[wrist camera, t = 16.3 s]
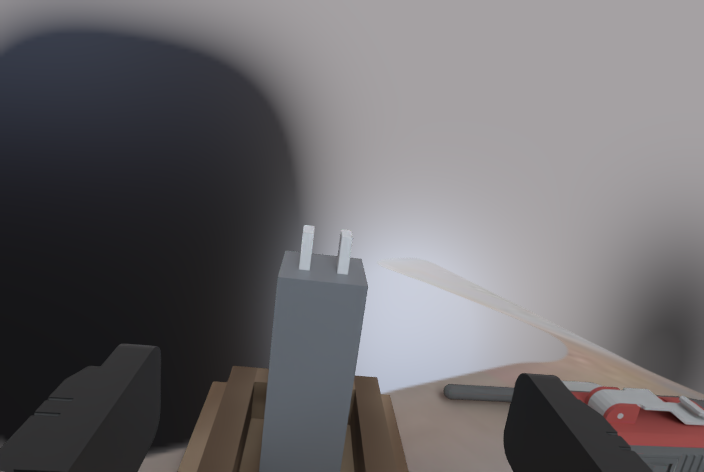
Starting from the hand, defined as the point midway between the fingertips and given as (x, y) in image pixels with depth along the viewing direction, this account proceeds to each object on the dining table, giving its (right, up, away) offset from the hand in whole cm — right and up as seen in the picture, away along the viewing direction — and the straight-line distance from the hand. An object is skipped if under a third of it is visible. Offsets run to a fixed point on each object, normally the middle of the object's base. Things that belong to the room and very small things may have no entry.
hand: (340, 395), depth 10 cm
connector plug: (-3, -9, +15) cm, 17 cm away
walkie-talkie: (+17, -11, +22) cm, 30 cm away
